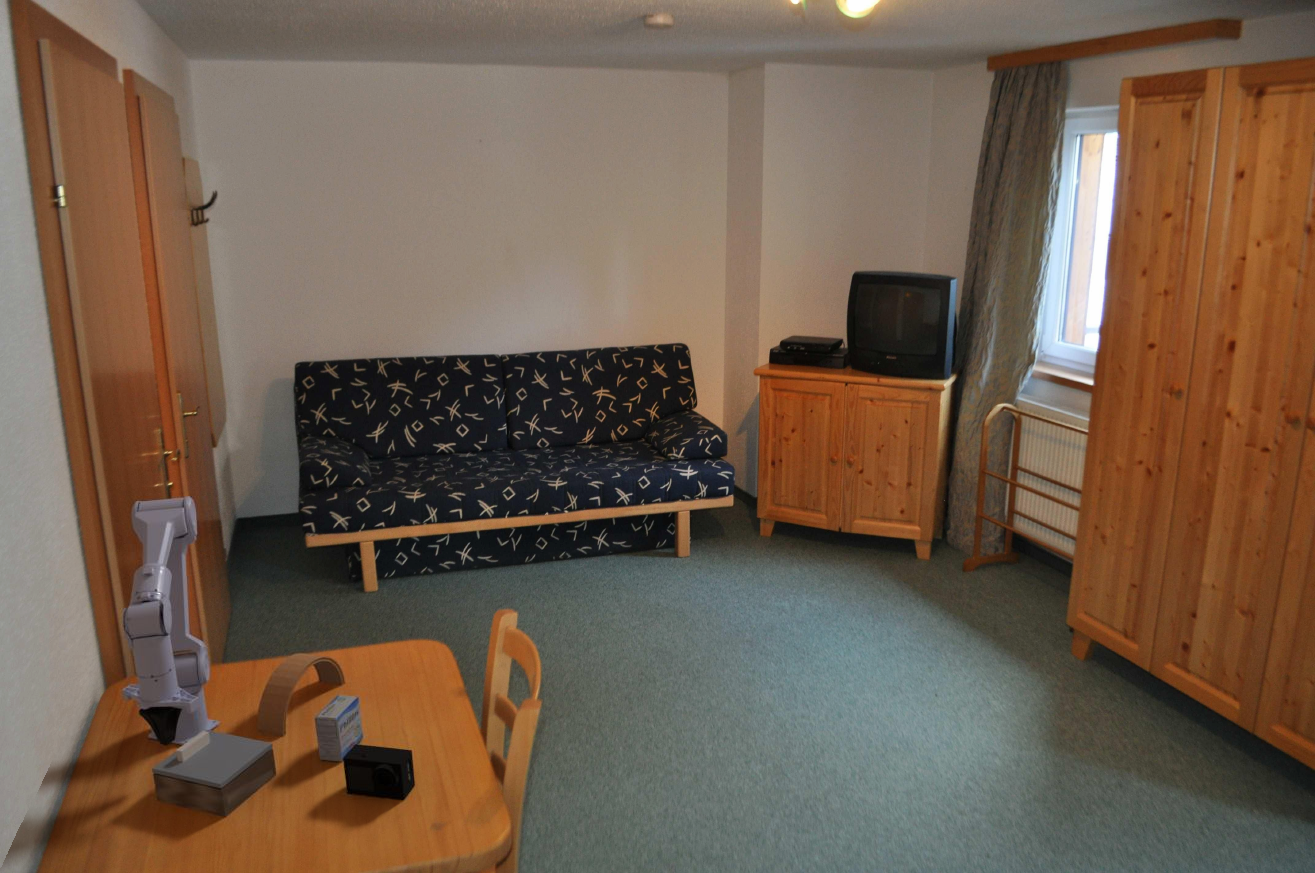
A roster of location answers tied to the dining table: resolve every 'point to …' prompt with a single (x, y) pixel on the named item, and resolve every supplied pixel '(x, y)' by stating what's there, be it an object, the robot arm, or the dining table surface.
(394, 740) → the dining table surface
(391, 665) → the dining table surface
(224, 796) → the box
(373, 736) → the dining table surface
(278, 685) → the arch
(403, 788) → the digital camera
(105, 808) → the dining table surface
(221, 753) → the lid
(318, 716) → the medicine box
